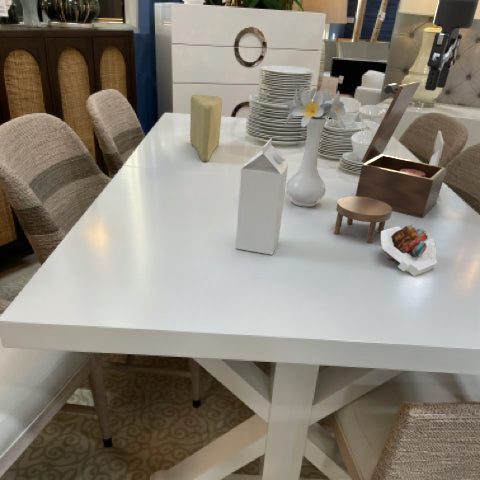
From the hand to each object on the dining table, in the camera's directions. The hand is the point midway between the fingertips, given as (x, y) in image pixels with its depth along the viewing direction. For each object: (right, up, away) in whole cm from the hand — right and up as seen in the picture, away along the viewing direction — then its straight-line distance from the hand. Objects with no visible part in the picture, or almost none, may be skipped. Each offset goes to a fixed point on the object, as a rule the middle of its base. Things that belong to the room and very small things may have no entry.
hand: (434, 88), depth 103 cm
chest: (-3, -21, +15) cm, 26 cm away
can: (-2, -21, +14) cm, 25 cm away
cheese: (-53, +1, +42) cm, 68 cm away
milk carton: (-39, -36, -12) cm, 55 cm away
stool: (-18, -32, -4) cm, 37 cm away
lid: (-7, -4, +8) cm, 11 cm away
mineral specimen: (-11, -40, -14) cm, 43 cm away
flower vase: (-28, -22, +11) cm, 37 cm away
